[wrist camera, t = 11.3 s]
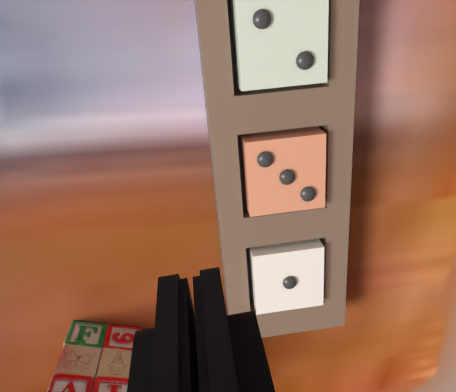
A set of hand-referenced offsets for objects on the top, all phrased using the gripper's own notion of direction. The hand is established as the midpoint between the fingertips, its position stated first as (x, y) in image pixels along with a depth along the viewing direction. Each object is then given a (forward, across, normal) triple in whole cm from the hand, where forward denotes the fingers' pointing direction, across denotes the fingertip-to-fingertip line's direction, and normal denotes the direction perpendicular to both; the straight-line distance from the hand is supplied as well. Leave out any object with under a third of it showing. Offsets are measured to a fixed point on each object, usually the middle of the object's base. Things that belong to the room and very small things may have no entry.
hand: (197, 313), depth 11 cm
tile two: (+20, -7, -5) cm, 21 cm away
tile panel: (+21, -6, +4) cm, 22 cm away
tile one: (+19, -6, +13) cm, 24 cm away
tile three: (+19, -6, +4) cm, 21 cm away
